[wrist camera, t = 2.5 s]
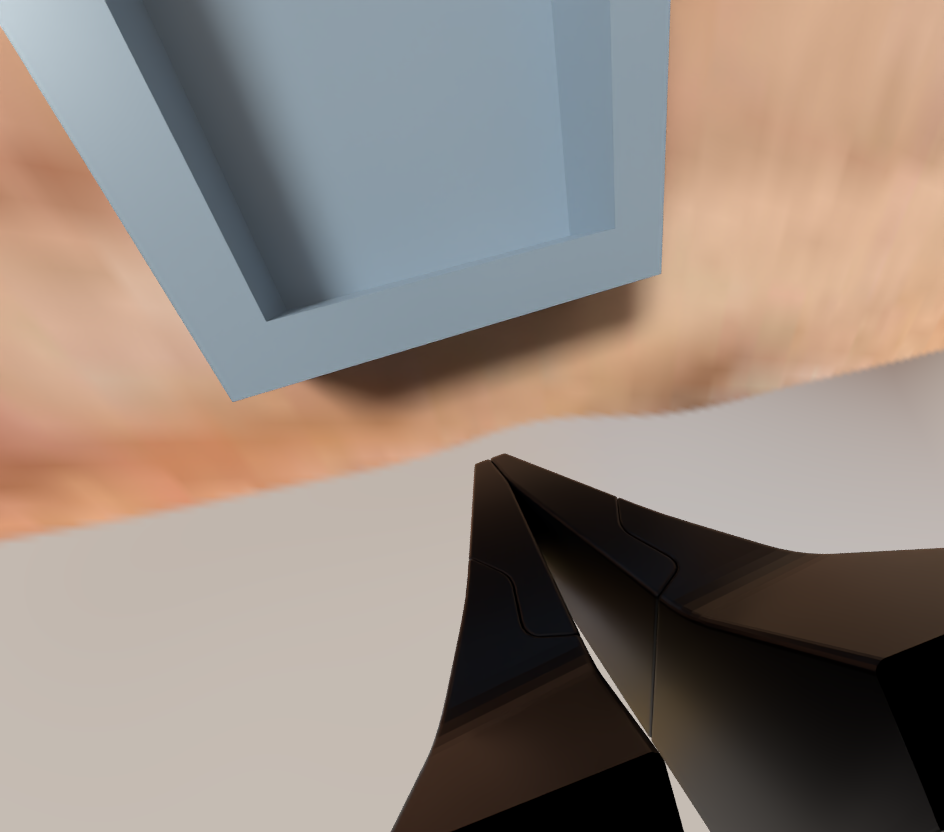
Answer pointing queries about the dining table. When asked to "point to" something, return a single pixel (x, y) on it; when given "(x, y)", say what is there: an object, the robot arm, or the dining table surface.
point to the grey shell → (363, 161)
